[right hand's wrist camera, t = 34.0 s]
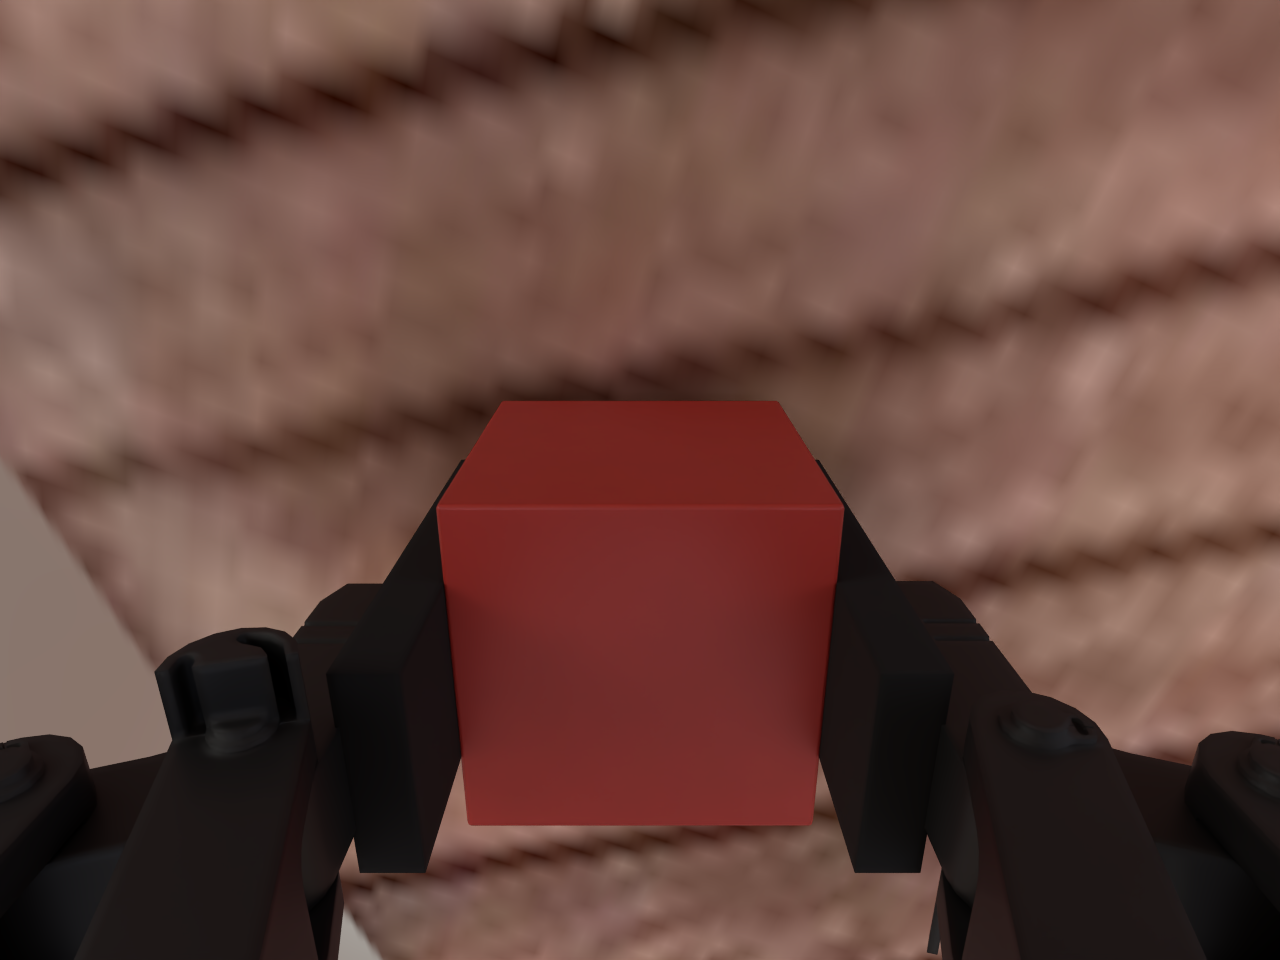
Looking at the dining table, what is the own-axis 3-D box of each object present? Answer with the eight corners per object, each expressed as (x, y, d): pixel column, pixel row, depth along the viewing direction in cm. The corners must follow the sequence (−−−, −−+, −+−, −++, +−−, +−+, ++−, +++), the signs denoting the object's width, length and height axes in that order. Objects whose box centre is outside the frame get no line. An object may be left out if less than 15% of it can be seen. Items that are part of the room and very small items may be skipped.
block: (501, 400, 14) (435, 505, 9) (778, 400, 14) (846, 505, 9) (516, 641, 16) (466, 827, 11) (762, 641, 16) (813, 827, 11)
